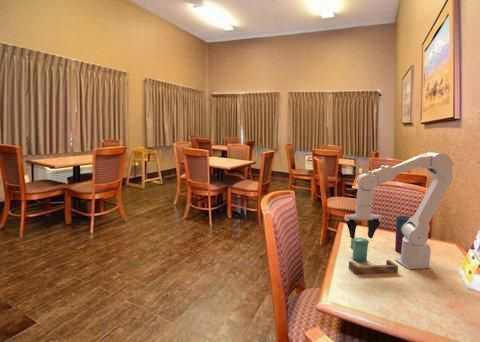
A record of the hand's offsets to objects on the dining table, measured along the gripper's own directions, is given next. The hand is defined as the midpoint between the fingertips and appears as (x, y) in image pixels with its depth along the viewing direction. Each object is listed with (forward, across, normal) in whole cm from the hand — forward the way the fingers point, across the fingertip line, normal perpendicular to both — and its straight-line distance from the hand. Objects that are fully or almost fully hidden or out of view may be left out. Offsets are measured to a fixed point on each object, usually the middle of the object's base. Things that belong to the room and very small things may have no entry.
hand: (361, 237), depth 117 cm
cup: (+9, -23, -6) cm, 25 cm away
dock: (+9, 0, +10) cm, 13 cm away
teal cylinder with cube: (+9, 0, -1) cm, 9 cm away
